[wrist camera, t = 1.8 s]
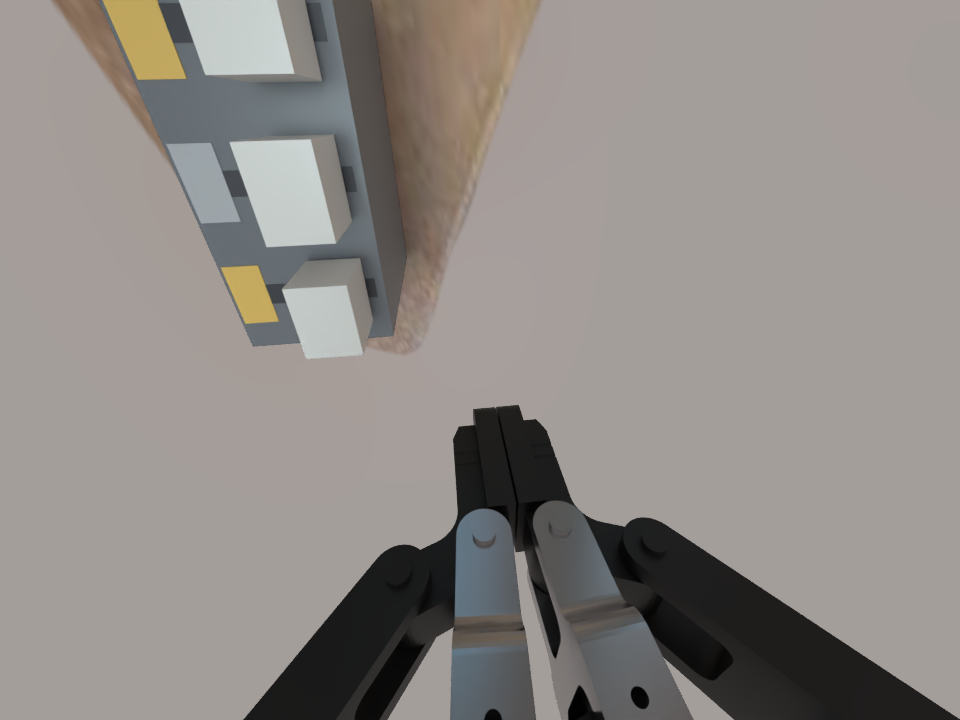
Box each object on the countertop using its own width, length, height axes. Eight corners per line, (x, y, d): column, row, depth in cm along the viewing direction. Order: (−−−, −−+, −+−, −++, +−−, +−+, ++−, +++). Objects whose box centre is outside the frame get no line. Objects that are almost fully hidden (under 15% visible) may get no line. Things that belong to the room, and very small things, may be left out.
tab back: (324, 323, 23) (306, 359, 19) (305, 261, 20) (281, 289, 17) (373, 319, 23) (363, 354, 20) (360, 258, 21) (346, 285, 17)
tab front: (252, 82, 16) (205, 75, 13) (212, -51, 14) (142, -103, 10) (322, 81, 16) (294, 73, 13) (294, -50, 14) (251, -101, 11)
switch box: (316, 262, 37) (252, 347, 23) (243, 2, 26) (47, -112, 13) (406, 257, 37) (393, 336, 24) (371, 2, 27) (312, -107, 13)
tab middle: (294, 224, 19) (266, 247, 16) (268, 136, 17) (229, 142, 14) (352, 221, 20) (336, 243, 16) (333, 134, 17) (310, 139, 14)
